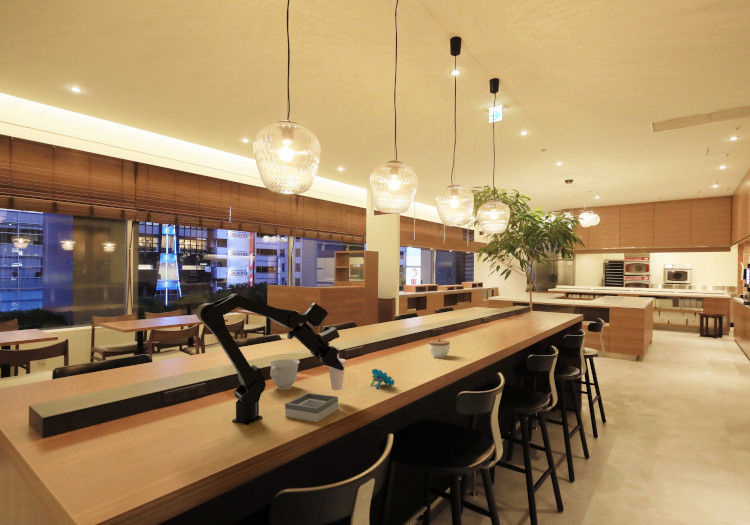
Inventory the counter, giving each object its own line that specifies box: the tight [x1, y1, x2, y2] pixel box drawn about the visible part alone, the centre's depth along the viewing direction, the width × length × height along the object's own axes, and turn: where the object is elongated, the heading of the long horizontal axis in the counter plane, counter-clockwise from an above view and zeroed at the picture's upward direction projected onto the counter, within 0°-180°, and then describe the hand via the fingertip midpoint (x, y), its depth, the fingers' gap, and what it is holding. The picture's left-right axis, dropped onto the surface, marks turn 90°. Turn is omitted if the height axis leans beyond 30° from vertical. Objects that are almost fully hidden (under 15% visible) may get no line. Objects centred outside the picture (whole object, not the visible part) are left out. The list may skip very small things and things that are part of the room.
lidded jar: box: [428, 338, 451, 359], centre depth 203 cm, size 11×11×9 cm
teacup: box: [268, 358, 301, 391], centre depth 151 cm, size 12×15×10 cm
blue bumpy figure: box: [370, 368, 396, 389], centre depth 151 cm, size 11×6×10 cm
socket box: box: [284, 392, 339, 423], centre depth 125 cm, size 12×12×4 cm
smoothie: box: [328, 347, 347, 391], centre depth 135 cm, size 6×6×14 cm
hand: (340, 367), depth 135 cm, fingers closed on smoothie, 6 cm apart
